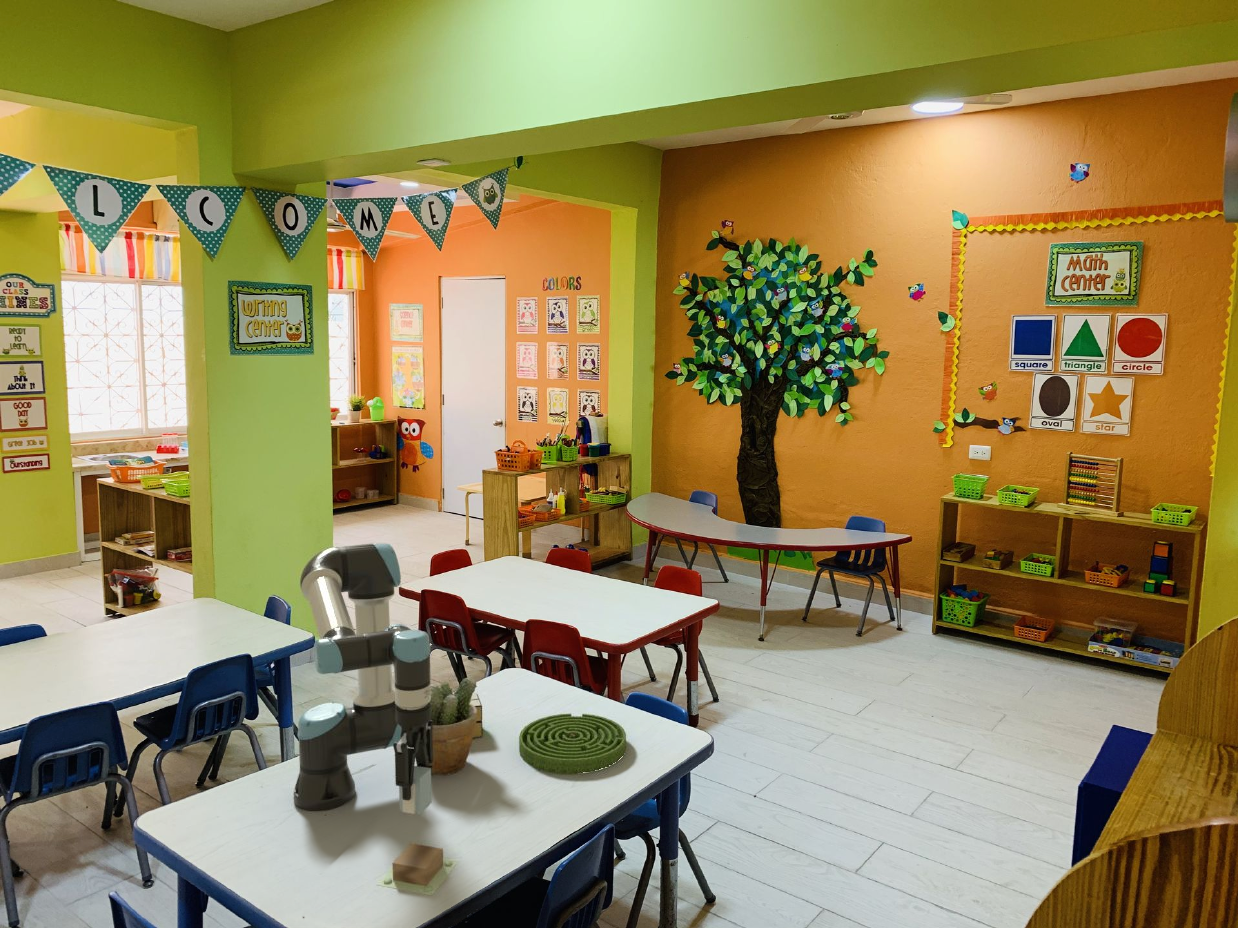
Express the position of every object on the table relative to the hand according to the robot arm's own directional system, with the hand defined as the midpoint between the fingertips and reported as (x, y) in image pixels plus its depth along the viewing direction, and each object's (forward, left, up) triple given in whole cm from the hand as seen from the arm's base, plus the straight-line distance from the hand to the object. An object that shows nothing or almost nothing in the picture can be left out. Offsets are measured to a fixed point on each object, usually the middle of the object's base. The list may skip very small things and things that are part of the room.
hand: (415, 805), depth 195 cm
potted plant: (-18, +49, -17) cm, 55 cm away
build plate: (0, 0, -17) cm, 17 cm away
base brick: (0, 0, -16) cm, 16 cm away
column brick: (0, 0, 0) cm, 0 cm away
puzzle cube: (-22, +70, -17) cm, 75 cm away
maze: (+13, +69, -18) cm, 73 cm away
